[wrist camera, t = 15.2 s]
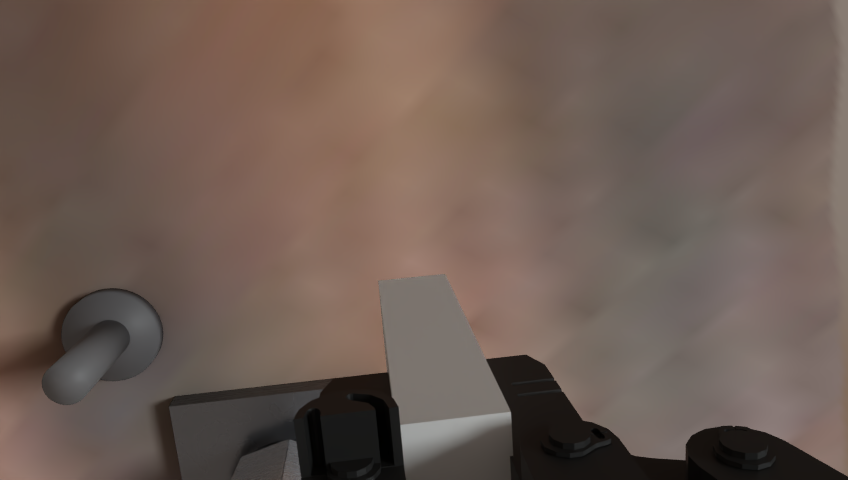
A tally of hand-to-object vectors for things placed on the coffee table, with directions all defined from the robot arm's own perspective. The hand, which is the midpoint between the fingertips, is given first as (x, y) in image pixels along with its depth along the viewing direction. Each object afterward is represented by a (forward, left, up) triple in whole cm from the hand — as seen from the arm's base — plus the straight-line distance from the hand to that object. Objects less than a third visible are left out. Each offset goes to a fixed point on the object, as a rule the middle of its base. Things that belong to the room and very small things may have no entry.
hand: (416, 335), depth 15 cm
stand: (+9, -18, -29) cm, 36 cm away
